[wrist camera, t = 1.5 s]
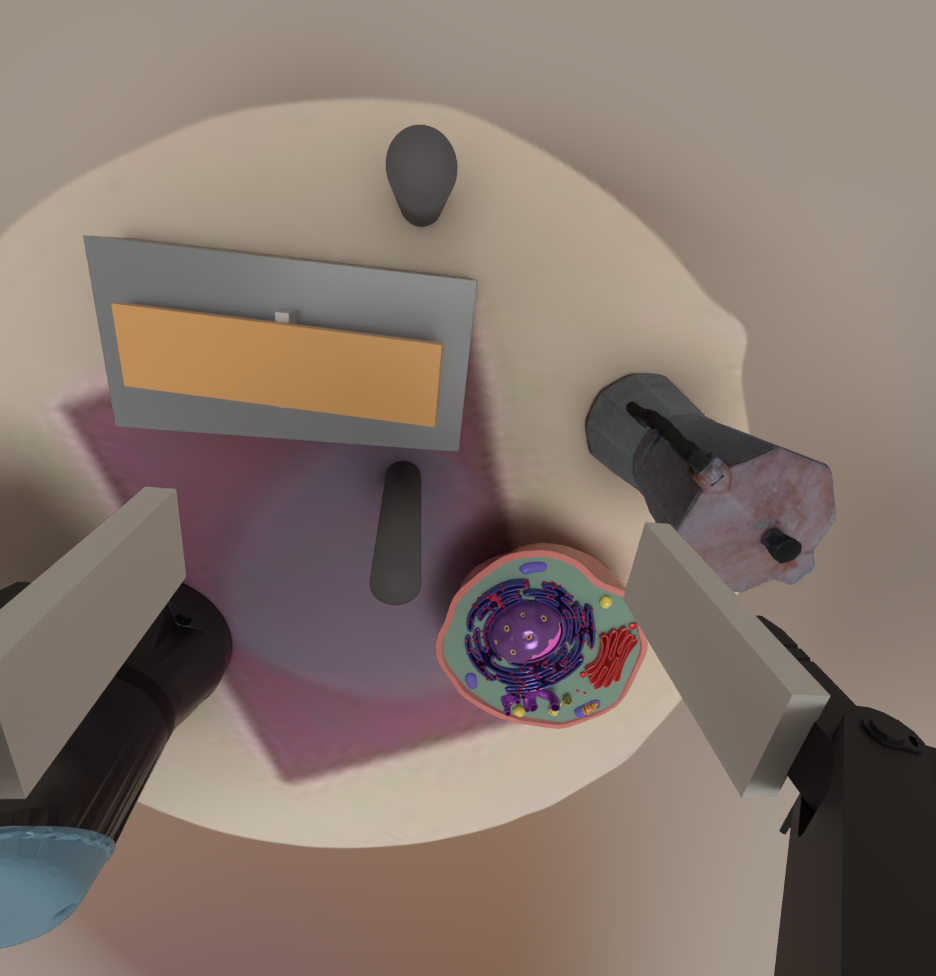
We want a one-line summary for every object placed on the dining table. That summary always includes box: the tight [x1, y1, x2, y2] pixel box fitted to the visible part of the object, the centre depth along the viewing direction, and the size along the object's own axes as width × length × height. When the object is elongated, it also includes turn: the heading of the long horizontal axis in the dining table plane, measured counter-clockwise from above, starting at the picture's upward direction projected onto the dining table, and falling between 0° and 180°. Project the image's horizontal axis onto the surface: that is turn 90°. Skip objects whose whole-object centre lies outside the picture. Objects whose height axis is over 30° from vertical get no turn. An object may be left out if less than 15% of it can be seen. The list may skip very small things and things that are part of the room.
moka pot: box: [586, 374, 836, 592], centre depth 35 cm, size 10×15×20 cm, turn 51°
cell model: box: [436, 543, 647, 729], centre depth 46 cm, size 17×20×11 cm
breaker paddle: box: [111, 302, 444, 427], centre depth 32 cm, size 20×5×1 cm, turn 84°
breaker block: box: [83, 236, 477, 452], centre depth 36 cm, size 24×12×7 cm, turn 84°
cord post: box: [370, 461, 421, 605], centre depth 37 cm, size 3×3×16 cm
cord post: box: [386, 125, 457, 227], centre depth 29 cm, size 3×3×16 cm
